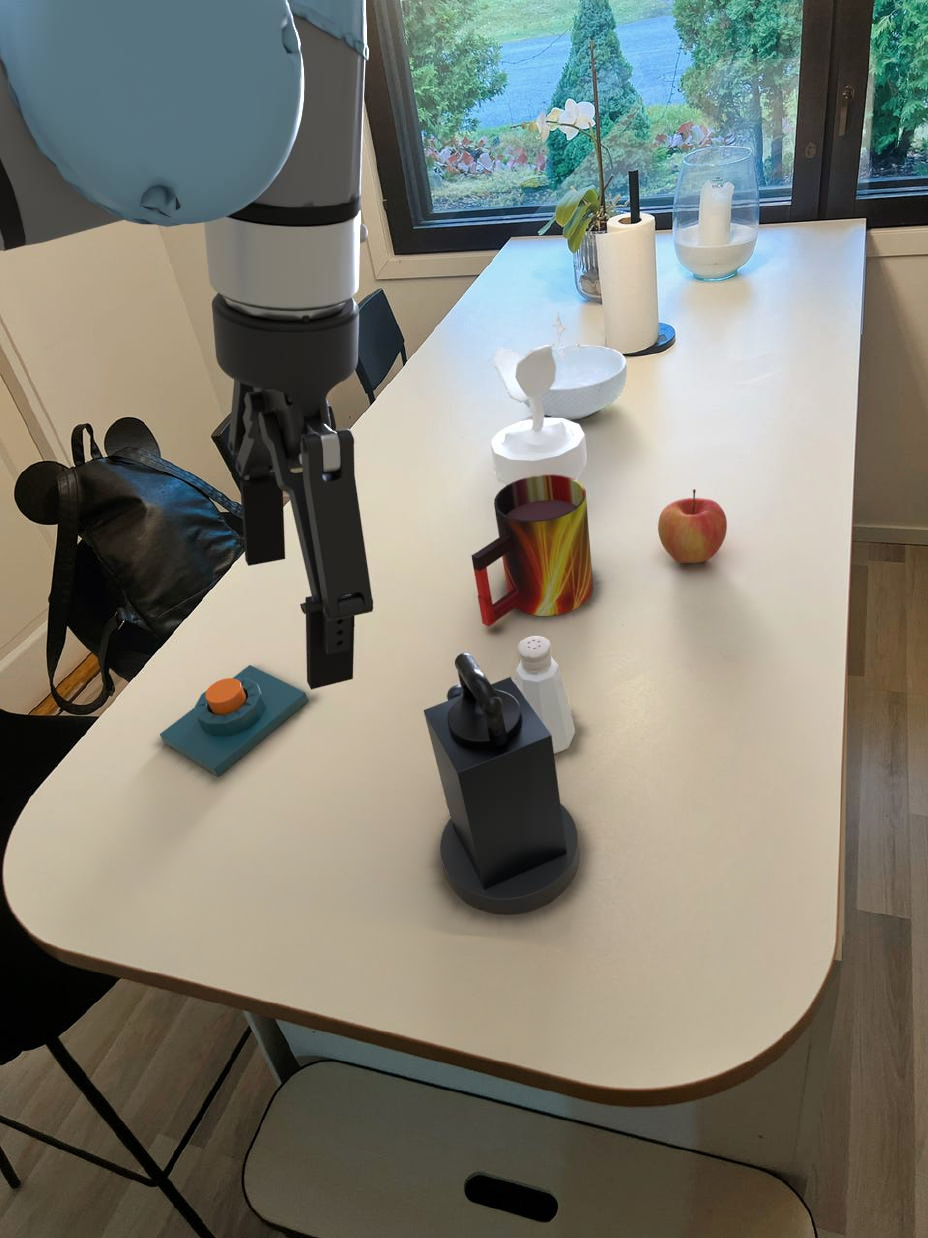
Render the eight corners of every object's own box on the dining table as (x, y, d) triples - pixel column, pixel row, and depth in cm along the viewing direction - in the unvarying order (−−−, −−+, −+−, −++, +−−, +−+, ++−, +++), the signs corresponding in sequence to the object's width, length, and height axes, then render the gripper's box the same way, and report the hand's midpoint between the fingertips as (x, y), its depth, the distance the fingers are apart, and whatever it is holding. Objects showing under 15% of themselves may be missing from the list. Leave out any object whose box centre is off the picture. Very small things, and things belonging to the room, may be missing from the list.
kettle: (567, 853, 67) (545, 687, 57) (484, 889, 66) (446, 726, 55) (509, 761, 76) (481, 602, 65) (435, 791, 74) (394, 633, 64)
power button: (226, 720, 85) (220, 707, 84) (203, 707, 87) (197, 695, 86) (253, 698, 87) (248, 685, 86) (231, 686, 89) (225, 673, 88)
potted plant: (607, 511, 110) (594, 313, 94) (523, 541, 107) (497, 342, 92) (561, 472, 119) (543, 286, 104) (483, 498, 117) (453, 312, 102)
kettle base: (491, 941, 65) (487, 925, 64) (420, 845, 73) (415, 830, 72) (607, 865, 68) (606, 849, 67) (528, 782, 76) (525, 766, 75)
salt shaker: (516, 718, 83) (501, 628, 76) (573, 712, 82) (563, 621, 76) (518, 760, 79) (502, 669, 72) (578, 754, 78) (568, 661, 71)
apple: (656, 576, 97) (655, 515, 92) (661, 540, 103) (659, 480, 98) (725, 577, 95) (727, 514, 90) (726, 540, 101) (728, 479, 96)
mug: (482, 634, 94) (465, 541, 86) (522, 561, 103) (510, 472, 96) (569, 645, 90) (559, 548, 83) (602, 568, 100) (596, 476, 93)
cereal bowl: (638, 423, 127) (636, 377, 123) (525, 441, 128) (519, 396, 124) (617, 378, 141) (615, 335, 136) (515, 395, 142) (509, 353, 137)
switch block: (218, 777, 83) (207, 755, 81) (163, 742, 88) (152, 721, 86) (308, 700, 90) (301, 679, 88) (253, 672, 95) (244, 651, 93)
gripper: (457, 386, 38) (423, 726, 51) (283, 222, 55) (291, 511, 68) (291, 405, 35) (300, 762, 48) (160, 226, 52) (193, 527, 65)
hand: (295, 615), depth 58 cm, fingers open, 13 cm apart
